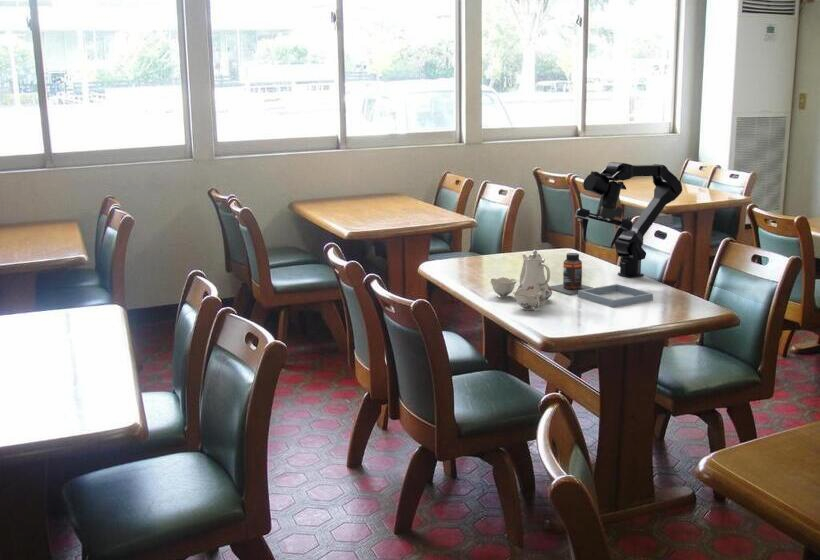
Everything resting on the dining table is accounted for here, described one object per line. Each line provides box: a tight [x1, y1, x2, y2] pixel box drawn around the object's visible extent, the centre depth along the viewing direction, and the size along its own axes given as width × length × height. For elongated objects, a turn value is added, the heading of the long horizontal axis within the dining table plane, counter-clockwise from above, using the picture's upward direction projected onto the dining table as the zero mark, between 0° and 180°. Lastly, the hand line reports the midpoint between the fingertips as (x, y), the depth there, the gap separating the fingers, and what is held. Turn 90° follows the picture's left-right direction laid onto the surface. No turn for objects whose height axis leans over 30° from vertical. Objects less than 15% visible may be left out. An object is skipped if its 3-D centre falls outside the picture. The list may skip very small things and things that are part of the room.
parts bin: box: [577, 283, 654, 308], centre depth 277 cm, size 16×16×2 cm
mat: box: [549, 283, 594, 296], centre depth 290 cm, size 12×12×1 cm
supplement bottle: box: [562, 252, 583, 289], centre depth 289 cm, size 6×6×11 cm
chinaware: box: [489, 249, 553, 311], centre depth 274 cm, size 28×17×17 cm, turn 24°
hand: (597, 244), depth 298 cm, fingers open, 9 cm apart
